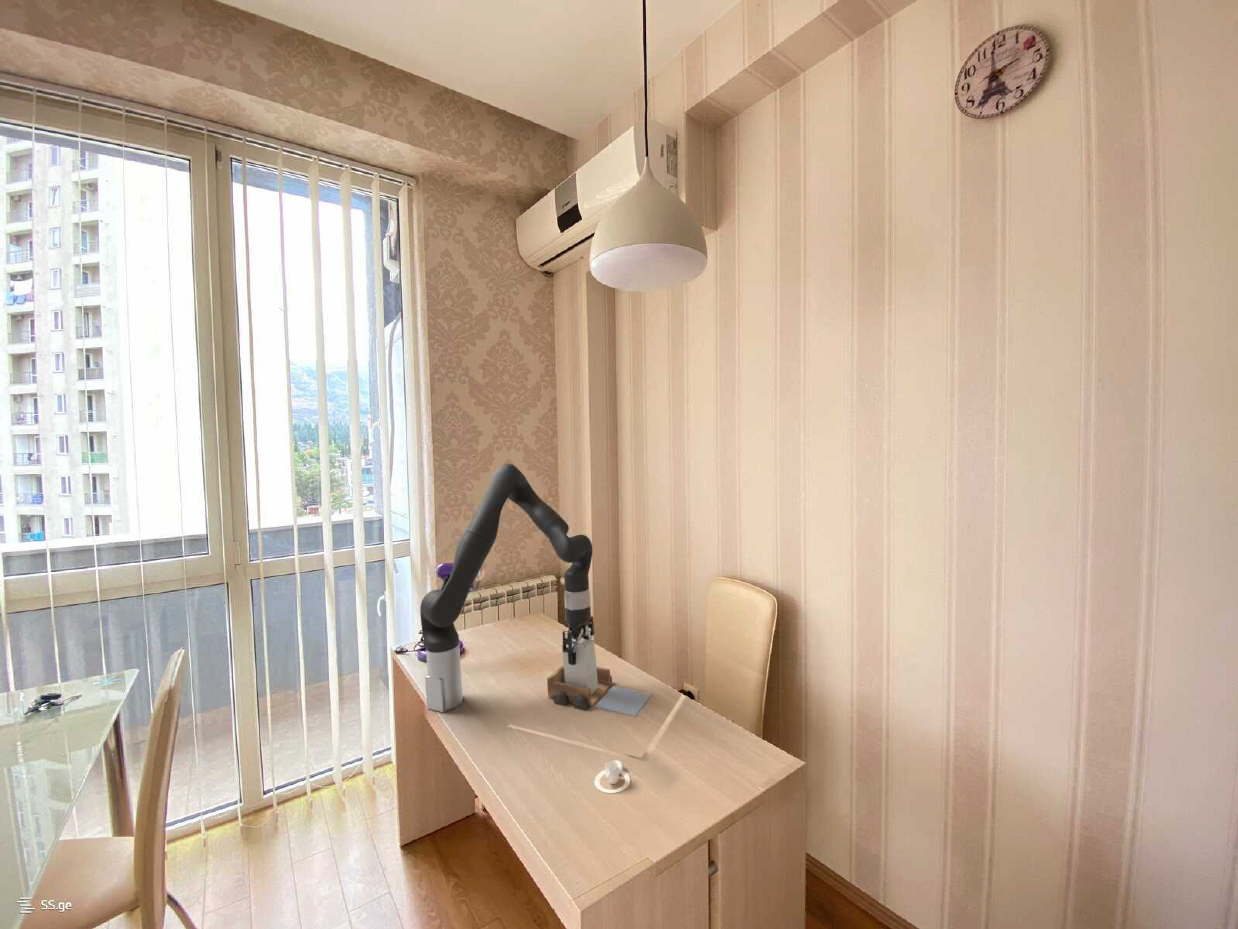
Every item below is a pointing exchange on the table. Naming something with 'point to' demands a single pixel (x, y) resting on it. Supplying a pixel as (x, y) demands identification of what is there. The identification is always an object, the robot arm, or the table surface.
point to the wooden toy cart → (577, 689)
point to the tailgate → (623, 701)
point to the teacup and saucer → (613, 776)
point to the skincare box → (582, 666)
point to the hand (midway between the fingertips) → (579, 658)
